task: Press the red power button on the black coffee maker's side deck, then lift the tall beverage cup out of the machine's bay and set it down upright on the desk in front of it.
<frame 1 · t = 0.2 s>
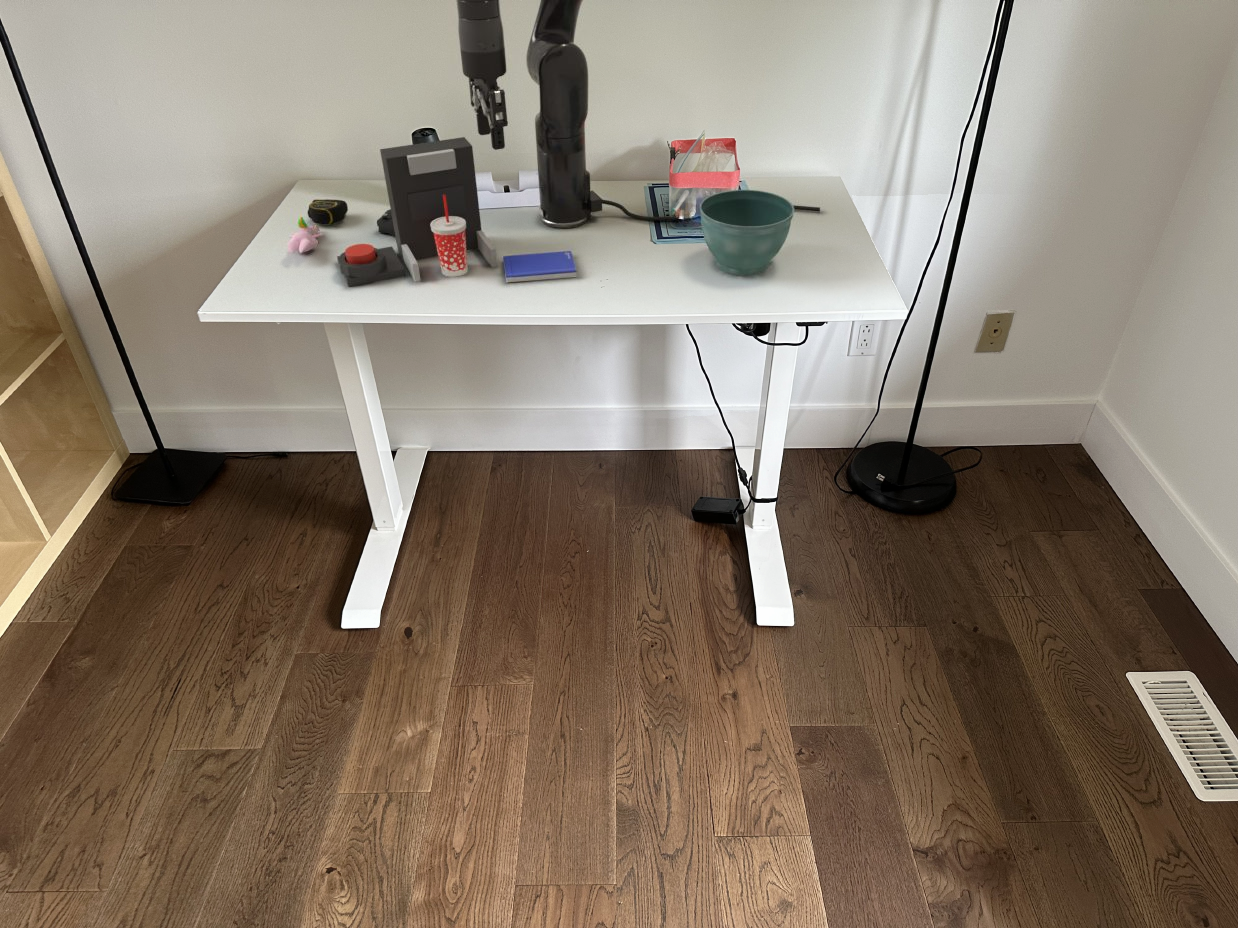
hand: (491, 141, 157), 17 cm above the table, tool pointing down, fingers open, 8 cm apart
hard drive: (539, 271, 155), on the table
button deck: (371, 270, 155), on the table
flower pot: (741, 265, 156), on the table
beverage cup: (454, 272, 155), on the table
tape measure: (328, 221, 172), on the table
game controller: (399, 229, 169), on the table
power button: (360, 254, 151), point 4 cm above the table, slide at 0.1 cm
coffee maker: (441, 249, 162), on the table
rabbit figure: (306, 250, 162), on the table
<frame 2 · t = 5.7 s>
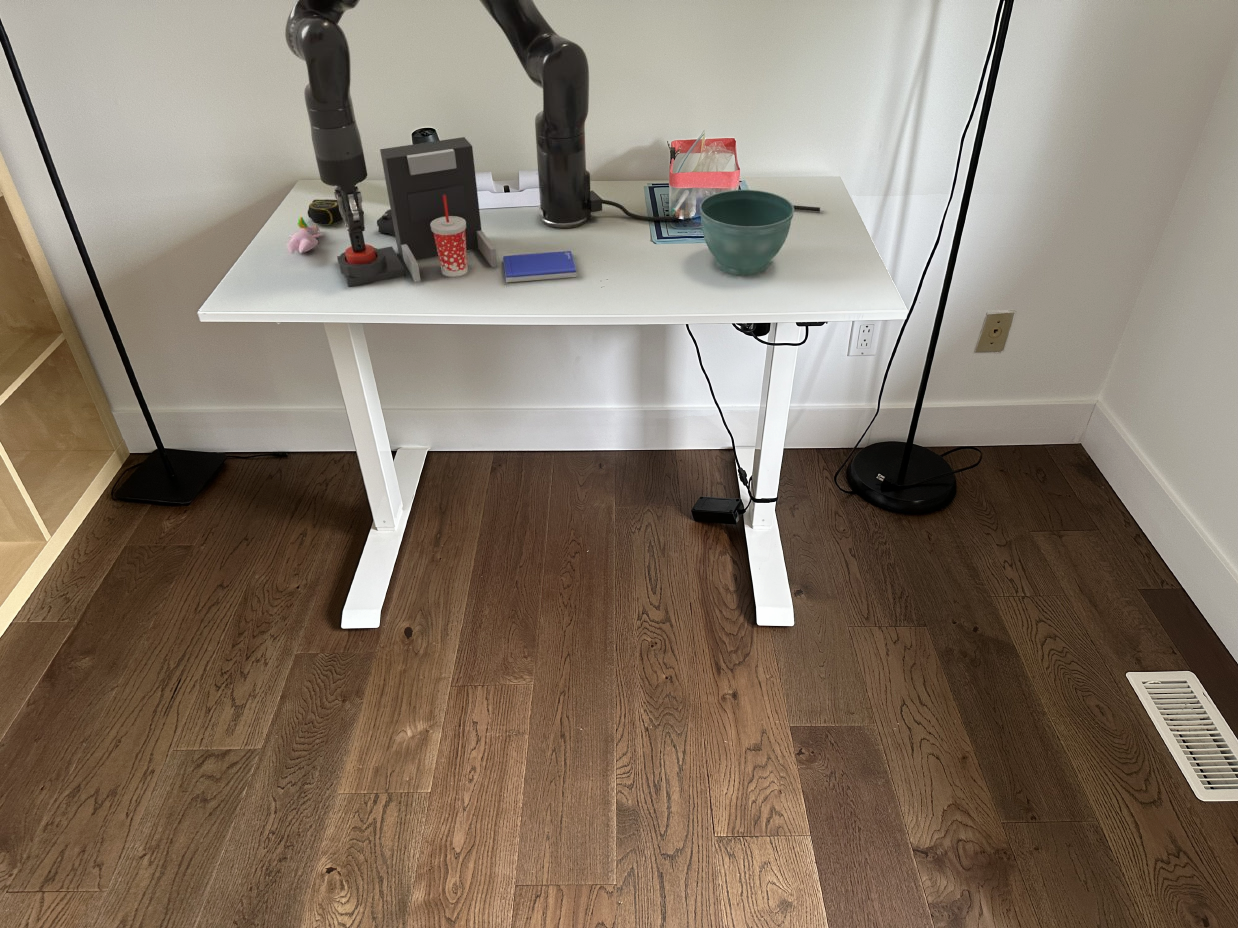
hand: (359, 250, 151), 5 cm above the table, tool pointing down, fingers closed
power button: (360, 255, 151), point 4 cm above the table, slide at 0.0 cm, touching gripper
everything else where it was.
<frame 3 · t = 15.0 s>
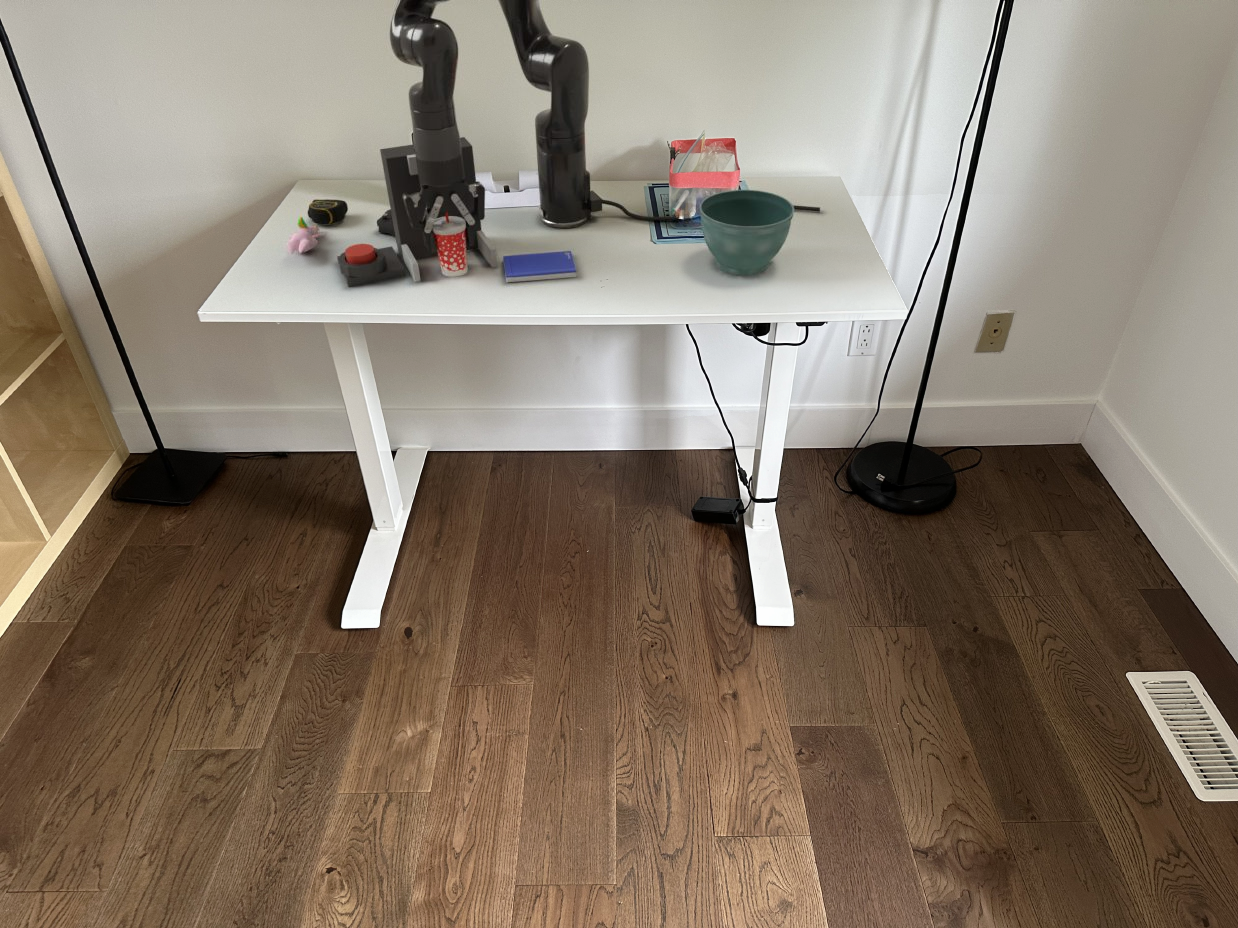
hand: (451, 246, 152), 5 cm above the table, tool pointing down, fingers closed on beverage cup, 6 cm apart
beverage cup: (454, 272, 155), on the table, touching gripper
power button: (360, 254, 151), point 4 cm above the table, slide at 0.1 cm
everything else where it was.
when the fingers open (5 cm above the table, at t = 23.0 s): beverage cup stays where it is, on the table.
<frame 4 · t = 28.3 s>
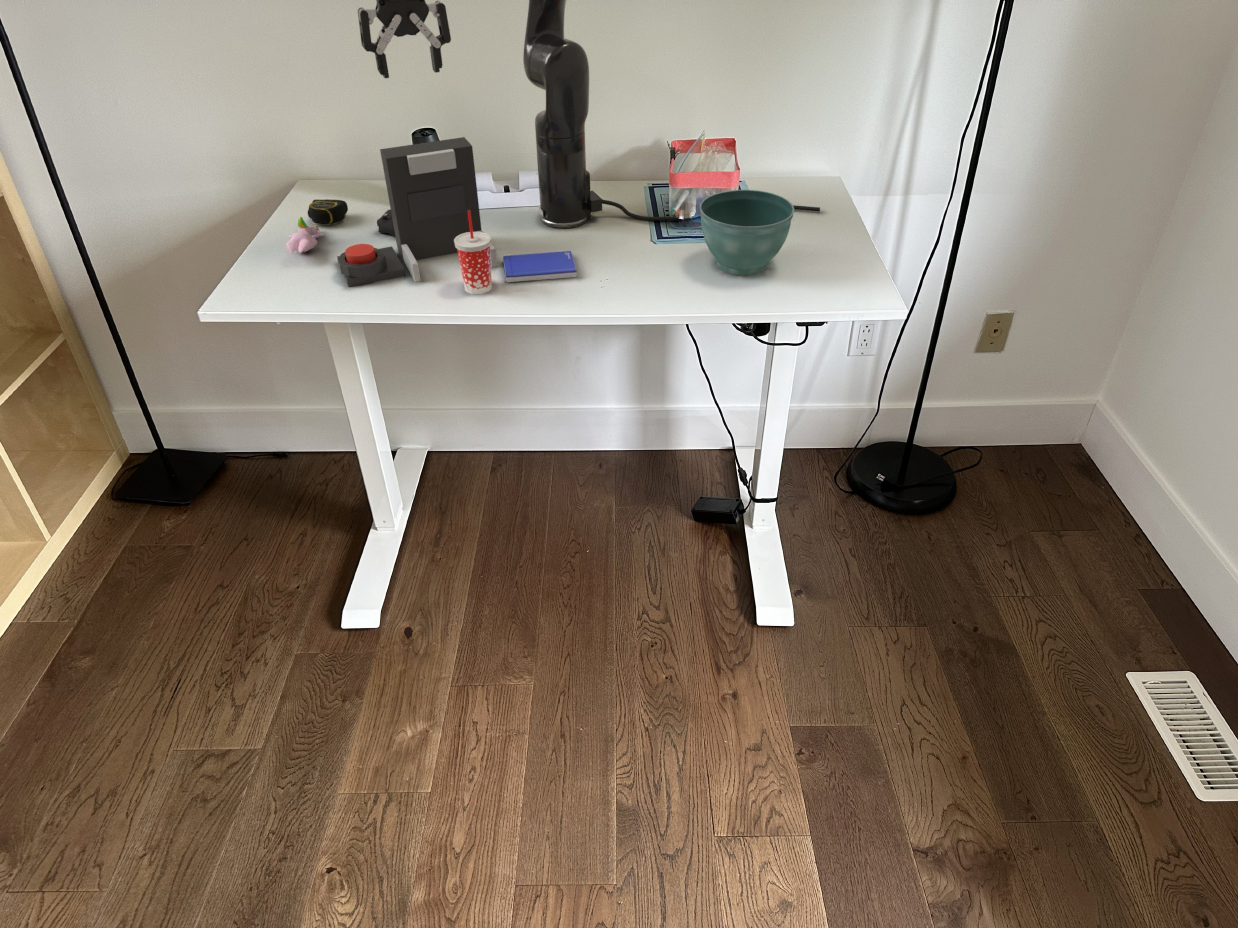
hand: (411, 74, 145), 30 cm above the table, tool pointing down, fingers open, 8 cm apart
beverage cup: (478, 289, 150), on the table
everything else where it was.
at the end: power button pushed in 1.0 cm at the most during the clip, back to where it started at the end; beverage cup inside the target area (0.5 cm from its centre), on the table; beverage cup tilted 0° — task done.
